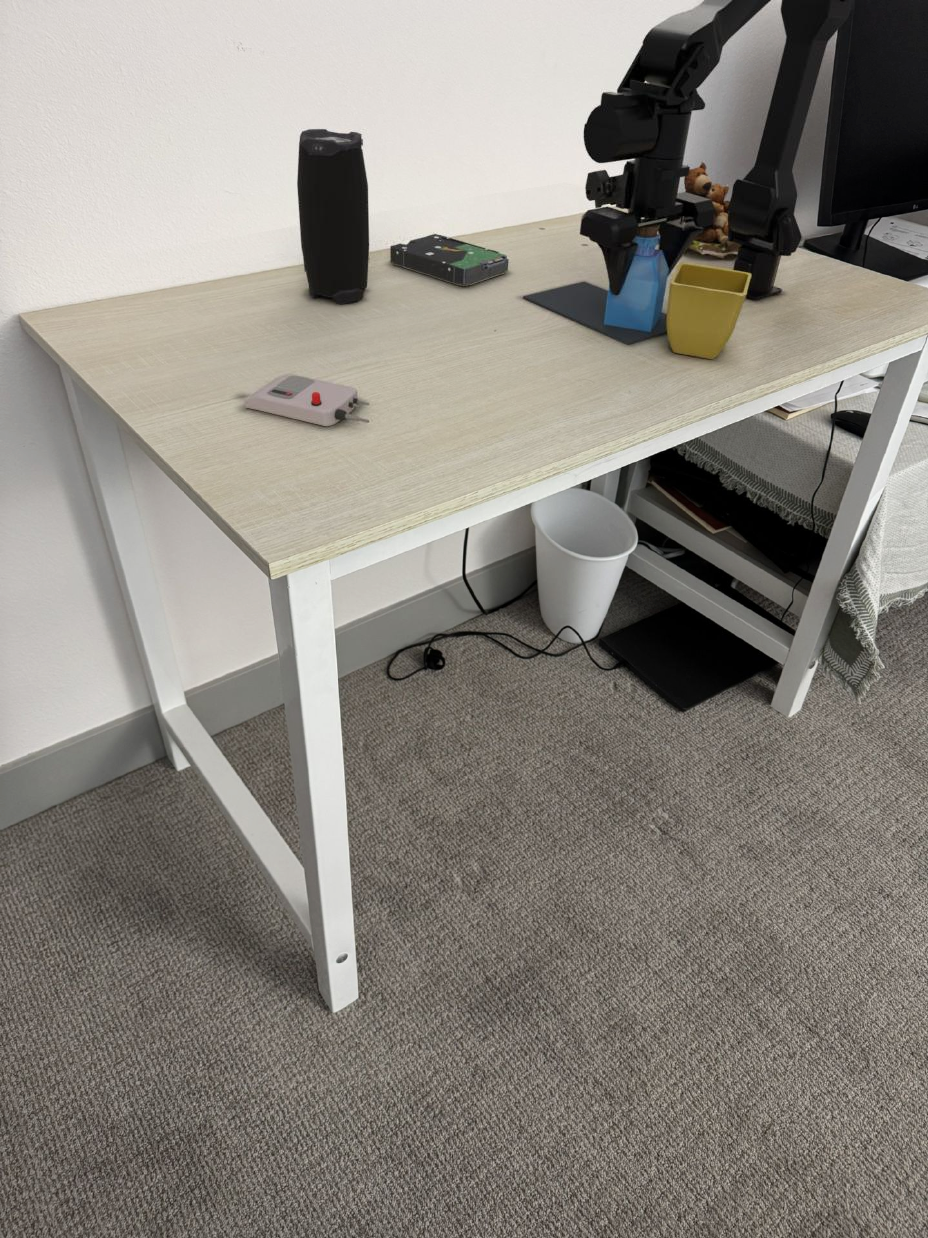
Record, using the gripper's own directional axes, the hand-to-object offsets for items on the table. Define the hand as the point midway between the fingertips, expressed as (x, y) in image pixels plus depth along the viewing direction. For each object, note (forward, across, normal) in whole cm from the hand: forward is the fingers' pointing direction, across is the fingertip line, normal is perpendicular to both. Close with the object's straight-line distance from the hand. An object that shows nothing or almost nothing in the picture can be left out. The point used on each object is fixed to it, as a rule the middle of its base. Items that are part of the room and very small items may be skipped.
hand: (637, 288), depth 113 cm
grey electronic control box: (+5, +48, -2) cm, 48 cm away
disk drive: (+5, +7, -30) cm, 32 cm away
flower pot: (+5, 0, +11) cm, 12 cm away
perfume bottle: (+4, 0, 0) cm, 4 cm away
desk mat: (+4, 0, -5) cm, 7 cm away
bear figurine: (+5, -36, -18) cm, 40 cm away
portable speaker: (+5, +27, -30) cm, 40 cm away
